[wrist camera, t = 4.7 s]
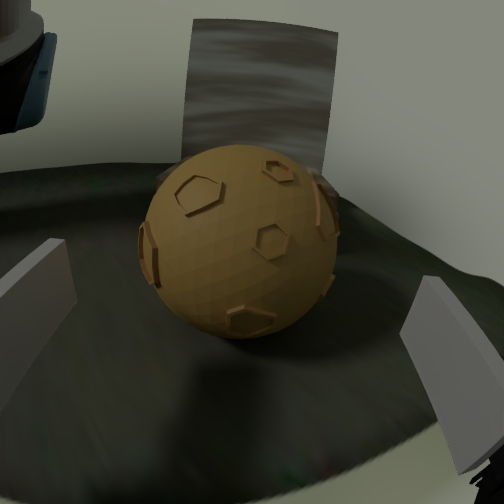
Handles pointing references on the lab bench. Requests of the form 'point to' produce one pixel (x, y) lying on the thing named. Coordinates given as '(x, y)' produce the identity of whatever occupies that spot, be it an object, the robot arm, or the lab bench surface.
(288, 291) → the stress ball
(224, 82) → the ledge stand
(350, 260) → the lab bench surface
